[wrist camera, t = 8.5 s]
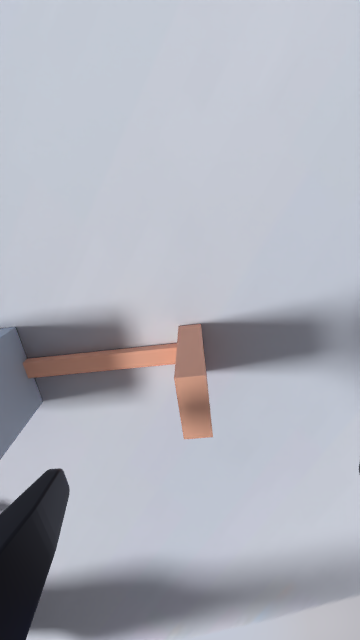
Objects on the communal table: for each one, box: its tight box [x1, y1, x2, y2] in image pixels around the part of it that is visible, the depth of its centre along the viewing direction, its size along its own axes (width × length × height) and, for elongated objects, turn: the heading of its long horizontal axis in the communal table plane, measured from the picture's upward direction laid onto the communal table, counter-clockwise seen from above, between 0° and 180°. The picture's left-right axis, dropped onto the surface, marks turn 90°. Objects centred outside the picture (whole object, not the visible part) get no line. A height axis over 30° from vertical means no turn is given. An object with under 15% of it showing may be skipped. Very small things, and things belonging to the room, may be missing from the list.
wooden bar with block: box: [0, 324, 213, 459], centre depth 14 cm, size 5×15×5 cm, turn 98°
